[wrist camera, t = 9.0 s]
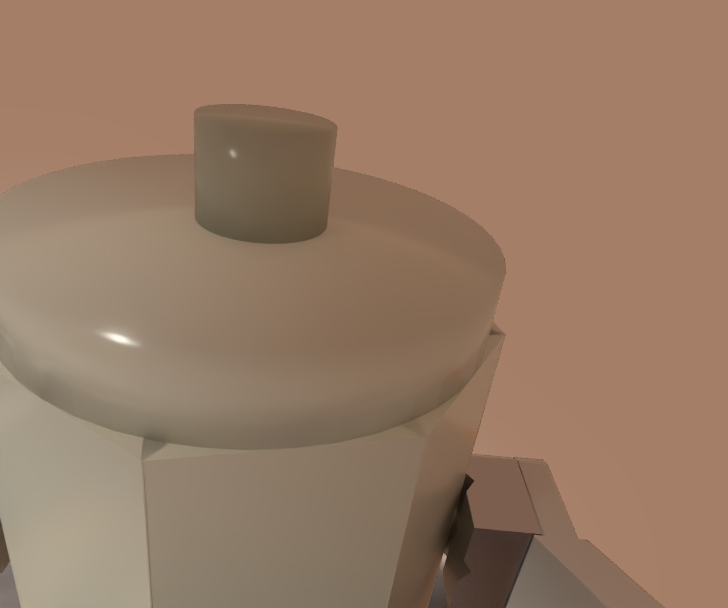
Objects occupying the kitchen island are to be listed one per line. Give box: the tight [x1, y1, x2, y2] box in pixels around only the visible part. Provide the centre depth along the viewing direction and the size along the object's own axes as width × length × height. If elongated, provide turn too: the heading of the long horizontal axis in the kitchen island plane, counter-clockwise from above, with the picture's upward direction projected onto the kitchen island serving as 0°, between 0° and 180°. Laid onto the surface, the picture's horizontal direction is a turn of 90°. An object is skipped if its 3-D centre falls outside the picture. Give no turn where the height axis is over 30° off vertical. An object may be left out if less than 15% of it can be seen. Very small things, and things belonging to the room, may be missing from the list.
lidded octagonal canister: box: [0, 104, 506, 608], centre depth 9 cm, size 6×6×11 cm
